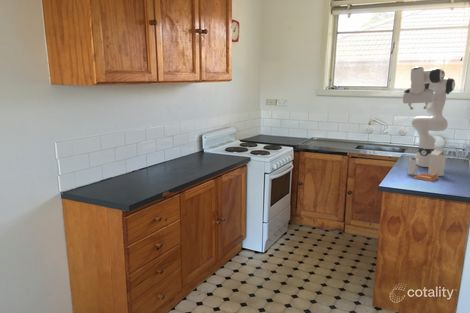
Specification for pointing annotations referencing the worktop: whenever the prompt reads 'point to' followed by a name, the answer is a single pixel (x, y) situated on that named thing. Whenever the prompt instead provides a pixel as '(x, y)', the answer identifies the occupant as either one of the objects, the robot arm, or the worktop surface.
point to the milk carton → (437, 162)
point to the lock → (412, 166)
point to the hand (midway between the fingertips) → (418, 109)
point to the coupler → (426, 177)
